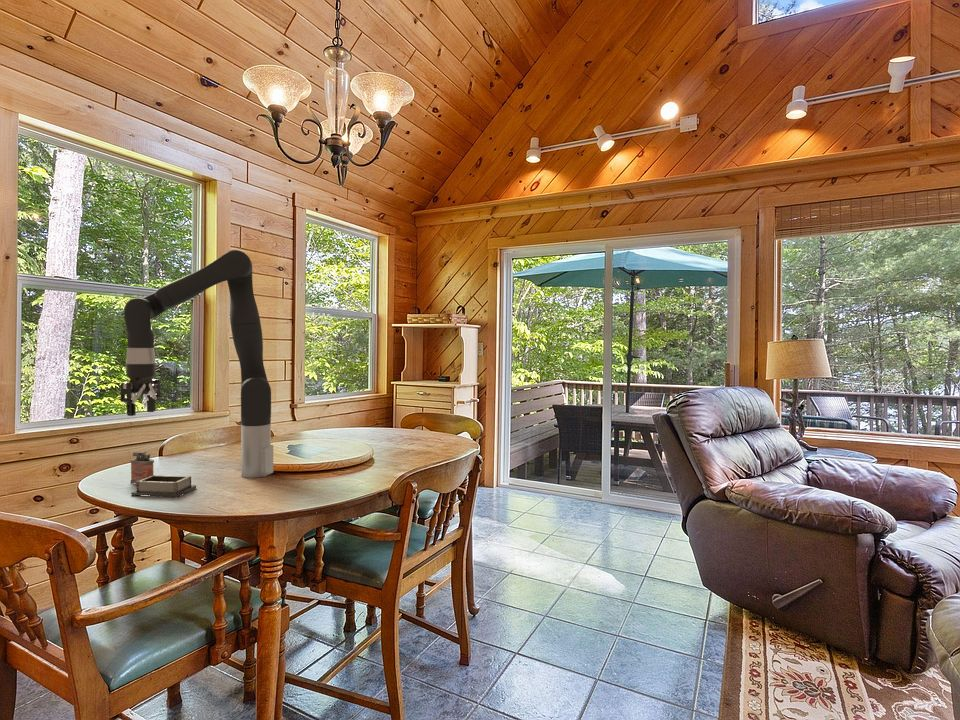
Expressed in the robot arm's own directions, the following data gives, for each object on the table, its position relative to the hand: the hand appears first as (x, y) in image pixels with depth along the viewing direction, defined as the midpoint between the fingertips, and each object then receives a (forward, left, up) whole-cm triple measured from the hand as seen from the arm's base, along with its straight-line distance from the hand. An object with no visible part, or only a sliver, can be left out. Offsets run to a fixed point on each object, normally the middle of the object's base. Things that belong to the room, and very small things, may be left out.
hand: (141, 413), depth 162 cm
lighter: (0, 0, -22) cm, 22 cm away
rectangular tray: (-13, +8, -22) cm, 27 cm away
